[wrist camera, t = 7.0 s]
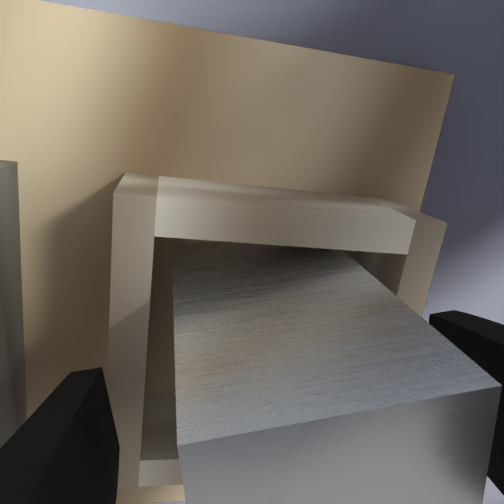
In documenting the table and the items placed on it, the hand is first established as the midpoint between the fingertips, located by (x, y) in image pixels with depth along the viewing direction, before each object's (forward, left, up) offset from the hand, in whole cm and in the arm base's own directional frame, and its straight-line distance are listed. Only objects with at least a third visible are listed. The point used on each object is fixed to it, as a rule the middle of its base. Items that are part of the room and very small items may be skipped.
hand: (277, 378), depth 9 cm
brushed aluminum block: (0, 0, -3) cm, 3 cm away
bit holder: (+4, 0, -4) cm, 5 cm away
